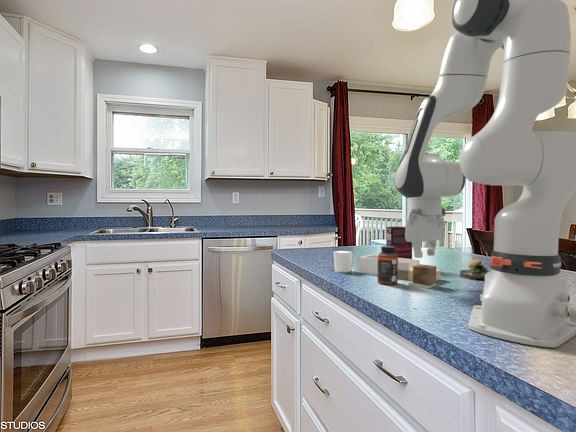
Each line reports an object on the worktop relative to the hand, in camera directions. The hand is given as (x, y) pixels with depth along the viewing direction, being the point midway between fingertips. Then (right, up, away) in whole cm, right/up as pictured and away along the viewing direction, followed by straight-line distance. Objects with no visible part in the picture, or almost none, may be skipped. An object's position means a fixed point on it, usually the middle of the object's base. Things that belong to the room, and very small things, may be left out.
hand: (424, 256), depth 104 cm
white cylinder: (-21, -8, +23) cm, 32 cm away
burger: (+24, -9, +14) cm, 29 cm away
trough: (-3, -8, +15) cm, 17 cm away
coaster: (0, -9, +1) cm, 9 cm away
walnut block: (0, -8, +1) cm, 8 cm away
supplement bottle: (-10, -9, +4) cm, 14 cm away
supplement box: (+2, -8, +30) cm, 31 cm away
